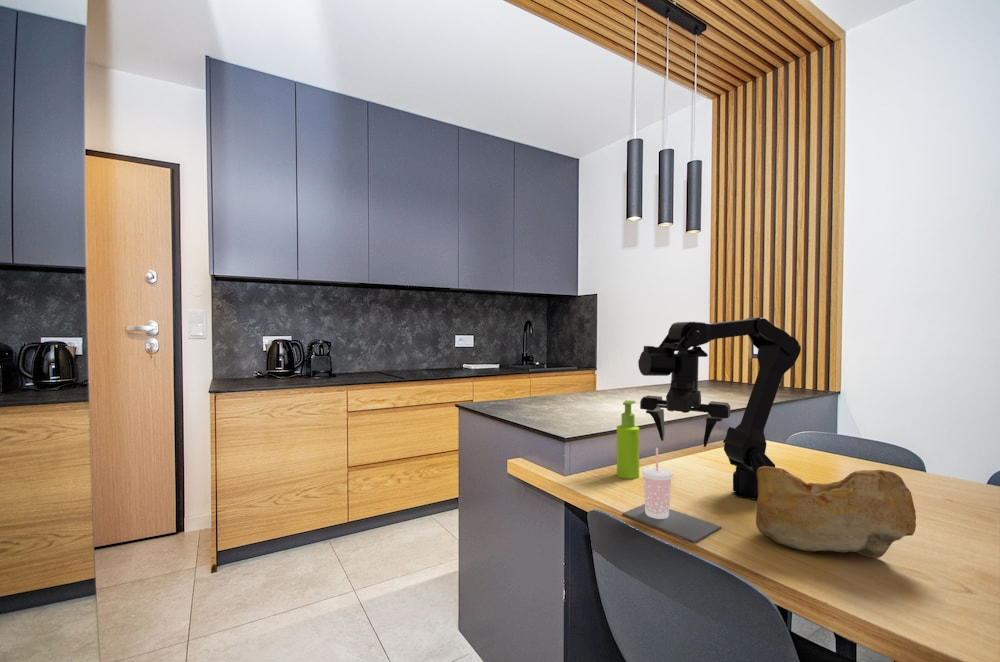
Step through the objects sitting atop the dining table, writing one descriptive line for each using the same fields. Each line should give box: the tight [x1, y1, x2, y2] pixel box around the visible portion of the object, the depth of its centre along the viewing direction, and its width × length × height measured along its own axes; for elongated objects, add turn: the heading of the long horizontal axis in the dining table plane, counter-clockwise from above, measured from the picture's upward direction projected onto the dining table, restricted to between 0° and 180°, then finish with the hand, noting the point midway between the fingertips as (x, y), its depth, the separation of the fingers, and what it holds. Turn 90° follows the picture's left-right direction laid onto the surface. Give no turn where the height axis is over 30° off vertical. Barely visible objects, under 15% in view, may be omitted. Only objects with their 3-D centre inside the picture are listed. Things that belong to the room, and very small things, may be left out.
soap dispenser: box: [616, 400, 640, 480], centre depth 120 cm, size 6×7×20 cm
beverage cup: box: [641, 447, 673, 519], centre depth 93 cm, size 6×6×14 cm
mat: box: [622, 503, 722, 544], centre depth 91 cm, size 16×10×1 cm, turn 38°
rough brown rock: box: [755, 466, 917, 559], centre depth 83 cm, size 23×17×15 cm
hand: (683, 443), depth 102 cm, fingers open, 9 cm apart
